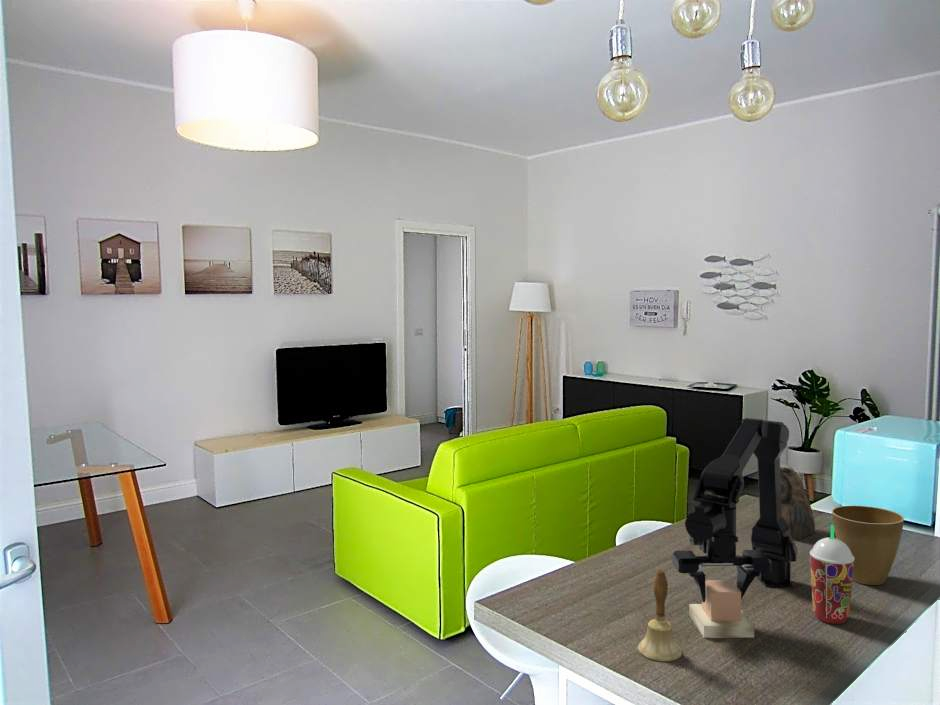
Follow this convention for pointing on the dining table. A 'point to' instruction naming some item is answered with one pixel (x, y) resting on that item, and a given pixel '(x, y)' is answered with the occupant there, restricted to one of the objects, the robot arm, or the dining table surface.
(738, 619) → the cube
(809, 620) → the dining table surface
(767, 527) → the robot arm
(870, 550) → the plant pot
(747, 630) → the base
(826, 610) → the smoothie
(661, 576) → the hand bell
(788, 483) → the owl
